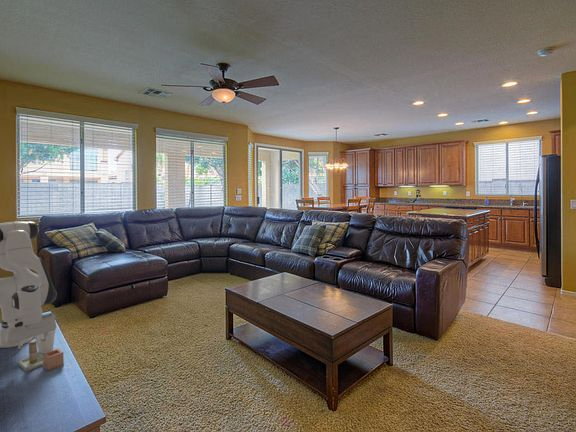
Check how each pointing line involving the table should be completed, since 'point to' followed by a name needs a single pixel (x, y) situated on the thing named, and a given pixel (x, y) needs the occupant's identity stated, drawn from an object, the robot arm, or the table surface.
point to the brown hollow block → (53, 359)
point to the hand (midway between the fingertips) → (32, 344)
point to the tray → (27, 366)
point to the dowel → (32, 352)
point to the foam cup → (45, 342)
